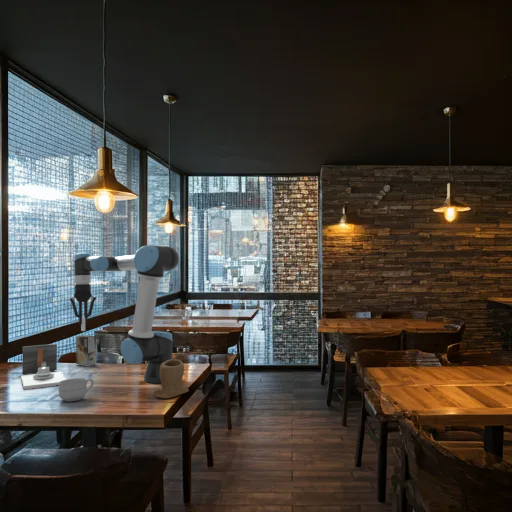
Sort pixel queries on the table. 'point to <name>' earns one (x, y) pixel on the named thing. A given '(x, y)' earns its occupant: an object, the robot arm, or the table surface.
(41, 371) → the grey metal lever
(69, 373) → the table surface
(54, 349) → the board
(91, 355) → the coffee box
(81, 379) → the teacup
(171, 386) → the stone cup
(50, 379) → the base plate
